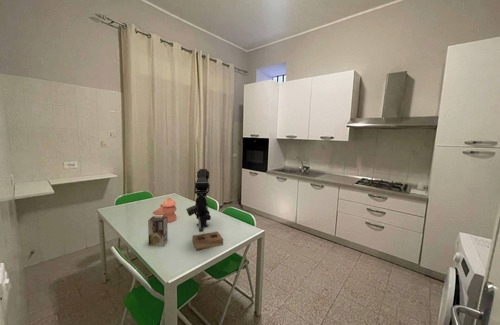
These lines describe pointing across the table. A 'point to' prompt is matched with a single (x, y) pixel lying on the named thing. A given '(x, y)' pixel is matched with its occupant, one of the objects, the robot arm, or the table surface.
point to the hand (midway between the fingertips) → (201, 226)
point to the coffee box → (157, 231)
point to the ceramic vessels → (167, 210)
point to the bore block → (207, 240)
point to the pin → (200, 228)
